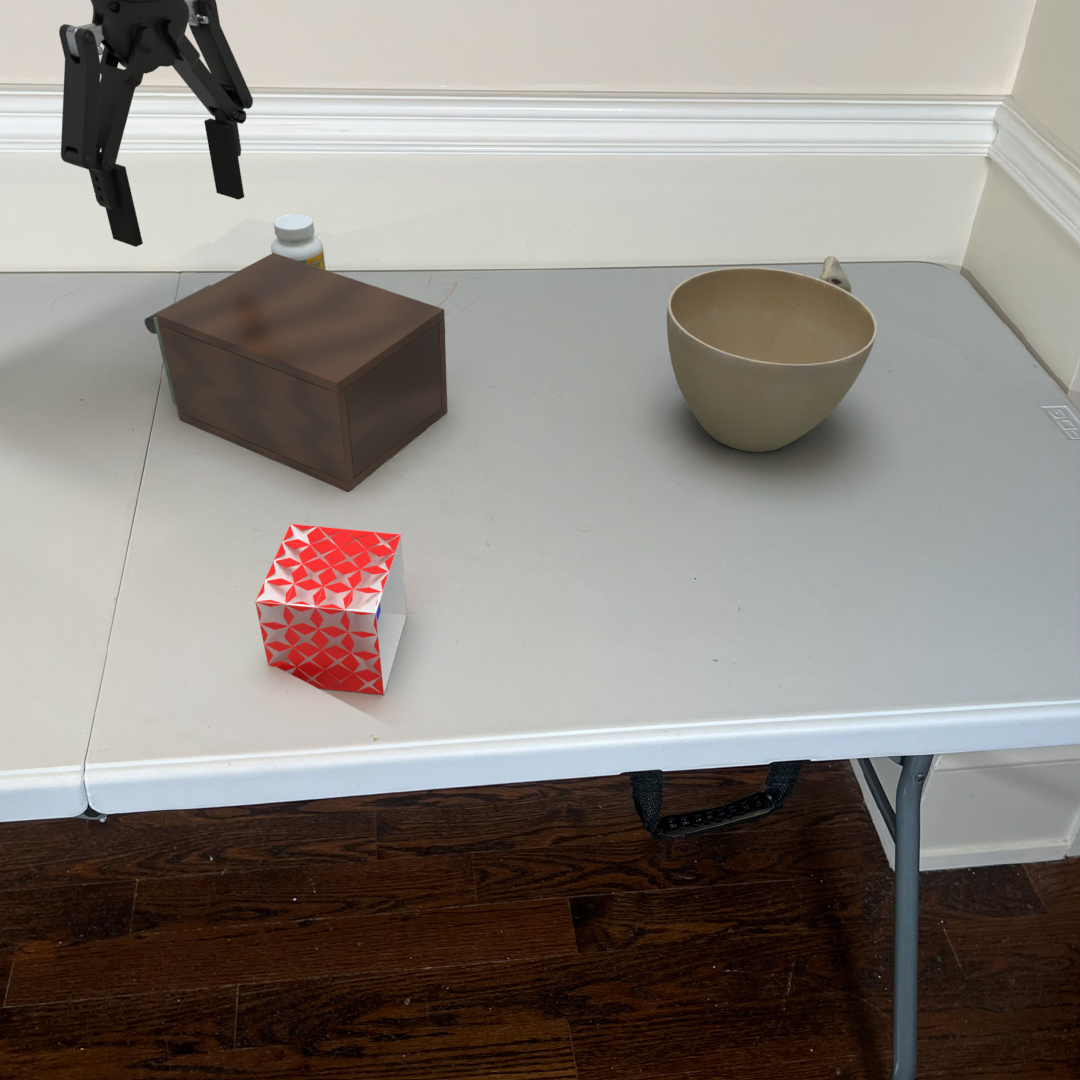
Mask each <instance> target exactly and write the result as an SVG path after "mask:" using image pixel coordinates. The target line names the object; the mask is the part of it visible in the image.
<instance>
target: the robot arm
mask: <svg viewBox="0 0 1080 1080" xmlns="http://www.w3.org/2000/svg"><path fill="white" fill-rule="evenodd" d="M90 2H91V5H92V19H91V23H88V24H87V23H86V24H83V25H79V26H75V25H71V24H67V23H64V24H62V25H60V27H59V30H58V34H59V39H60V44H61V48H62V52H63V57H64V72H63V73H64V74H63V92H62V93H63V95H62V118H61V138H60V139H61V140H60V158H61V160H62V161H63V162H64V163H67V164H70V165H72V166H76V167H78V168H82V169H85V170H88V172H89V173H88V174H89V177H90V180H91V184H92V187H93V192H94V196H95V200H96V202H97V204H98V205H99V206H100V207H103V208H105V211H106V215H107V216H106V217H107V220H108V223H109V227H110V232H111V236H112V239H113V240H115V241H118V242H120V243H124V244H127V245H129V246H132V247H134V248H137V247H139V246H142V245H143V243H144V241H143V238H142V234H141V229H140V223H139V221H138V217H137V212H136V207H135V202H134V198H133V194H132V189H131V186H130V185H131V184H130V182H129V181H130V180H129V177H128V173H127V172H128V171H127V168H126V166H124V165H121V164H118V163H117V160H118V155H119V152H120V148H121V144H122V140H123V137H124V133H125V129H126V124H127V121H128V117H129V114H130V109H131V105H132V103H133V98H134V94H135V90H136V88H137V87H139V86H141V84H142V82H143V78H144V74H146V75H147V74H149V73H152V72H154V71H156V70H157V69H159V68H160V67H166V68H167V67H172V68H173V69H174V70H175V72H176V73H177V74H178V75H179V76H180V78H181V79H182V80H183V82H184V83H185V84H186V85H187V87H188V88H189V89H190V91H192V93H193V94H194V95H195V97H196V98H197V99H198V100H199V102H201V104H202V105H203V106H204V108H205V109H206V110H207V111H208V113H209V114H210V115H211V116H212V117H214V118H210V117H209V118H208V119H205V120H204V121H203V123H204V129H205V134H206V140H207V145H208V151H209V155H210V156H209V157H210V162H211V168H212V174H213V181H214V185H215V192H216V194H219V195H222V196H224V197H228V198H231V199H234V200H241V199H244V198H245V193H244V186H243V179H242V173H241V167H240V160H239V157H240V156H241V155H242V146H241V139H240V131H239V124H241V125H242V124H244V123H245V122H246V120H247V112H246V111H245V109H246V110H249V109H251V108H252V107H253V105H254V100H253V99H254V98H253V96H252V94H251V91H250V89H249V87H248V85H247V83H246V80H245V78H244V75H243V73H242V71H241V69H240V67H239V64H238V62H237V60H236V57H235V55H234V53H233V51H232V49H231V46H230V44H229V42H228V40H227V37H226V35H225V33H224V31H223V28H222V26H221V22H220V16H219V10H218V9H219V8H218V4H217V1H216V0H90ZM188 26H189V29H190V31H191V34H192V36H193V38H194V41H195V43H196V45H197V47H198V49H199V51H200V52H199V51H198V49H197V48H196V47H195V45H194V44H193V43H192V42H191V40H189V38H188V36H187V35H186V31H187V27H188ZM101 44H102V46H103V47H102V46H101ZM200 53H201V54H200ZM100 56H101V58H100ZM201 56H202V57H203V59H204V62H205V63H206V65H205V63H204V62H203V61H202V60H201ZM119 65H120V66H121V67H123V68H120V67H119Z"/></svg>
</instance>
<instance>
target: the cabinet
mask: <svg viewBox="0 0 1080 1080" xmlns="http://www.w3.org/2000/svg"><path fill="white" fill-rule="evenodd" d="M210 285H211V286H209V287H207V288H206V289H204V290H202V291H200V292H198V293H196V294H194V295H192V296H190V297H188V298H187V299H185V300H183V301H181V302H179V303H177V304H175V305H173V306H171V307H170V308H168V309H166V310H164V311H162V312H160V313H158V314H156V318H157V323H158V327H159V331H160V336H161V340H162V344H163V349H164V353H165V357H166V362H167V366H168V370H169V375H170V379H171V383H172V388H173V392H174V396H175V401H176V405H175V406H176V408H177V414H178V418H179V421H182V422H184V423H186V424H189V425H191V426H193V427H196V428H198V429H201V430H203V431H205V432H208V433H210V434H213V435H215V436H217V437H218V438H222V439H224V440H226V441H229V442H231V443H233V444H236V445H238V446H240V447H243V448H245V449H247V450H249V451H252V452H254V453H257V454H259V455H261V456H263V457H266V458H269V459H270V460H273V461H275V462H278V463H280V464H283V465H285V466H287V467H289V468H292V469H294V470H297V471H299V472H302V473H304V474H306V475H308V476H311V477H312V478H315V479H318V480H319V481H323V482H325V483H327V484H330V485H332V486H334V487H336V488H339V489H342V490H343V491H345V492H350V491H352V490H353V489H354V488H356V487H357V485H359V484H360V483H361V482H363V481H364V480H365V479H367V477H369V476H370V475H371V474H373V473H374V472H375V471H376V470H378V469H379V468H380V467H381V466H382V465H384V464H385V463H386V462H388V460H390V459H391V458H392V457H394V456H395V455H396V454H398V453H399V452H400V451H401V450H402V449H404V447H406V446H407V445H408V444H410V443H411V442H412V441H414V440H415V439H416V438H417V437H418V436H420V435H421V434H422V433H423V432H425V431H426V430H427V429H428V428H429V427H431V426H432V425H433V424H435V422H437V421H438V420H439V419H440V418H441V417H443V416H444V415H445V414H447V413H448V390H447V389H448V388H447V387H448V384H447V383H448V382H447V352H446V351H447V350H446V347H447V346H446V321H445V319H446V318H445V309H444V308H442V307H439V306H436V305H433V304H430V303H426V302H425V301H424V302H423V301H421V300H418V299H414V298H412V297H408V296H406V295H403V294H399V293H396V292H393V291H391V290H388V289H384V288H381V287H378V286H375V285H372V284H369V283H366V282H363V281H360V280H357V279H354V278H351V277H347V276H345V275H342V274H338V273H336V272H333V271H330V270H324V269H321V268H318V267H315V266H312V265H309V264H306V263H303V262H300V261H296V260H293V259H290V258H287V257H284V256H281V255H278V254H275V253H272V252H271V253H270V254H268V255H265V256H264V257H263V258H261V259H259V260H257V261H255V262H253V263H251V264H249V265H248V266H246V267H244V268H242V269H240V270H237V271H236V272H234V273H233V274H230V275H228V276H227V277H224V278H222V279H221V280H219V281H217V282H215V283H213V284H210Z"/></svg>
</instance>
